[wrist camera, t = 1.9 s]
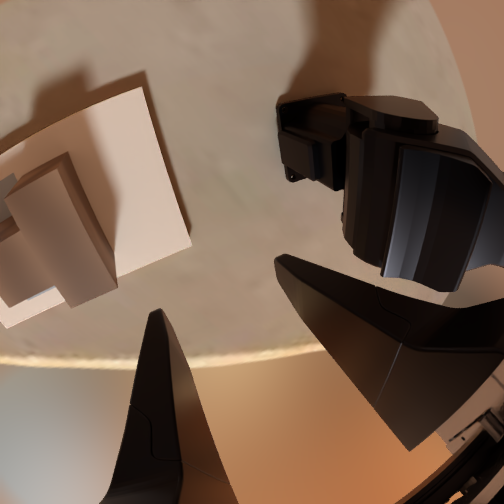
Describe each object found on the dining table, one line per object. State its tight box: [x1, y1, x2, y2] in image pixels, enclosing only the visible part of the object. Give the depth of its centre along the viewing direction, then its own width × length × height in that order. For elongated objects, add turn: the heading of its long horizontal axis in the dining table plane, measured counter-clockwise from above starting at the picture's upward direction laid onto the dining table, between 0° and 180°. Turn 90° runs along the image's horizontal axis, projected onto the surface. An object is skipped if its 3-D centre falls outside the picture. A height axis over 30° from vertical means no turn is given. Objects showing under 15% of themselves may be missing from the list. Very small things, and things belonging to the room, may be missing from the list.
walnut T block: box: [0, 151, 118, 308], centre depth 15 cm, size 8×8×4 cm
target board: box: [0, 87, 192, 328], centre depth 17 cm, size 18×12×1 cm, turn 100°
